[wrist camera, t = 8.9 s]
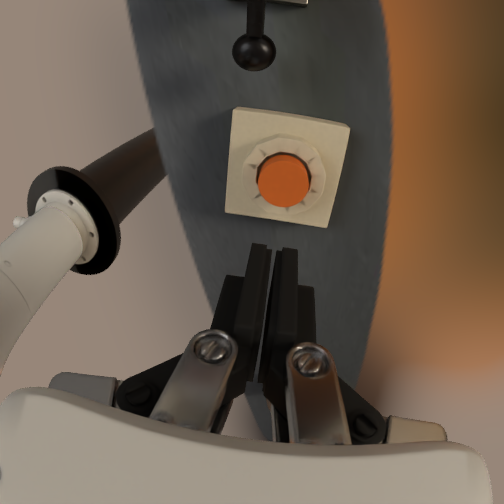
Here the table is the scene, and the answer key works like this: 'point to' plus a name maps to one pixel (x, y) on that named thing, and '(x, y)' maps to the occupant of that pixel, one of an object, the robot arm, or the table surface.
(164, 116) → the table surface
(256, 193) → the beige button base
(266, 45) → the switch
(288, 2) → the switch bracket
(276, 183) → the button
